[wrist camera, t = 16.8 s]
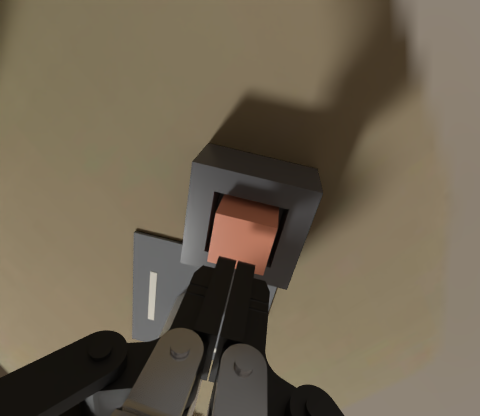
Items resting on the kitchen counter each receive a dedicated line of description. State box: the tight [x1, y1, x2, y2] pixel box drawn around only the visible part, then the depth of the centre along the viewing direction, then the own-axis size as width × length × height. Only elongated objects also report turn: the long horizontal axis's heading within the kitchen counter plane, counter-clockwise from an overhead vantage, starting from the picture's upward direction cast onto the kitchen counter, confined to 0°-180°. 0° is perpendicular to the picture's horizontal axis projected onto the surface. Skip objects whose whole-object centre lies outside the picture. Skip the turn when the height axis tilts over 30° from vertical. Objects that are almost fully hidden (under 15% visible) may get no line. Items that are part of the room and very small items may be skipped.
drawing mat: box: [132, 231, 277, 360], centre depth 22 cm, size 11×10×1 cm
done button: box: [207, 194, 279, 276], centre depth 14 cm, size 3×3×2 cm
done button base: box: [180, 143, 323, 290], centre depth 16 cm, size 6×6×3 cm
